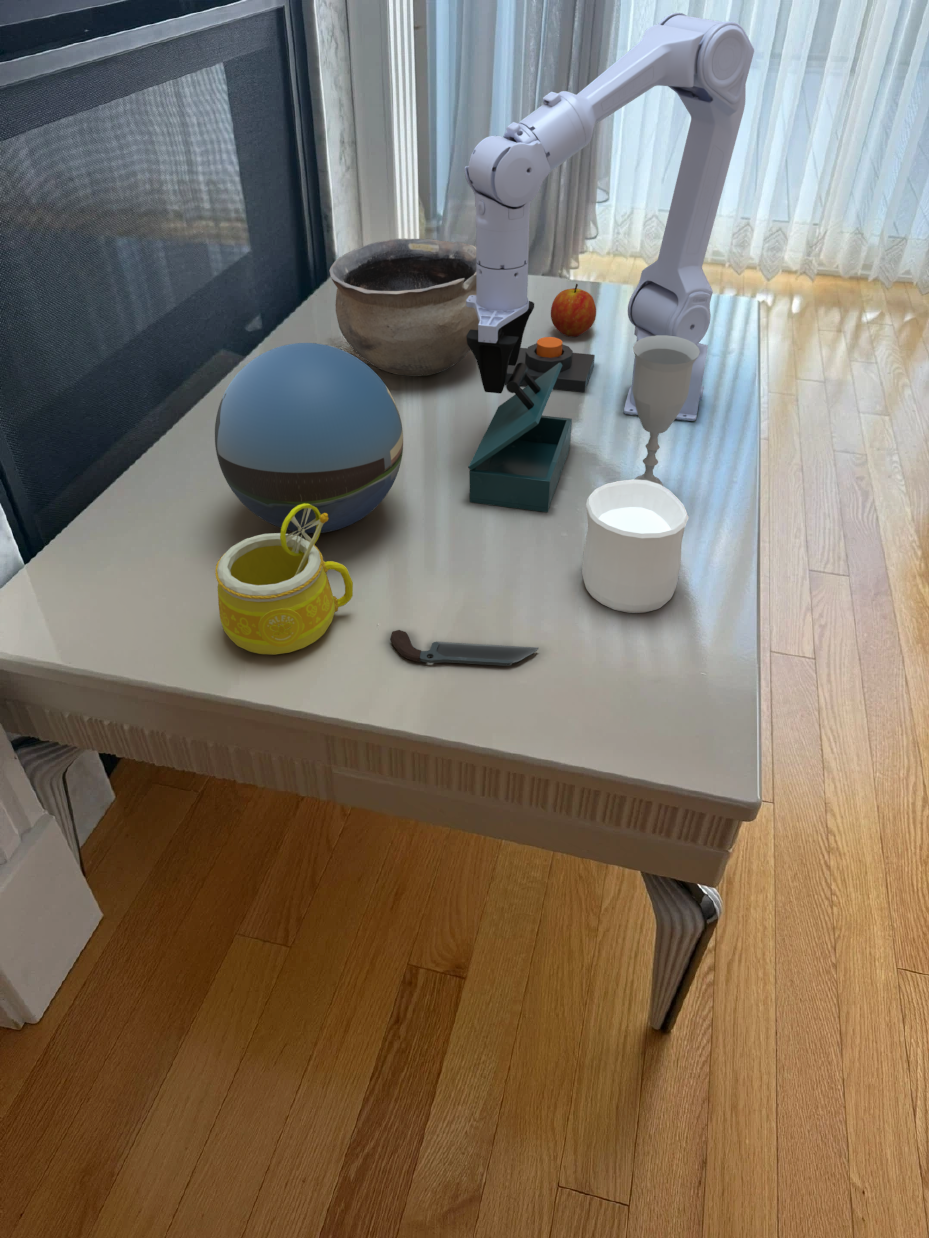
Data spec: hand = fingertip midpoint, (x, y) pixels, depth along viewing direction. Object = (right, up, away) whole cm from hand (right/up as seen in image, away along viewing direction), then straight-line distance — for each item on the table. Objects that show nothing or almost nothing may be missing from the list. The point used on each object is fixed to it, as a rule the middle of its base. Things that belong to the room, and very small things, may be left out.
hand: (500, 377), depth 107 cm
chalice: (+17, -15, -3) cm, 23 cm away
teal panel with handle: (+2, -5, -3) cm, 7 cm away
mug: (-21, -30, -20) cm, 41 cm away
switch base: (+8, +7, +23) cm, 25 cm away
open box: (+3, -11, +1) cm, 12 cm away
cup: (+12, -26, -15) cm, 32 cm away
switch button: (+8, +9, +21) cm, 24 cm away
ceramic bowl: (-12, +9, +26) cm, 30 cm away
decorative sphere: (-21, -18, -5) cm, 28 cm away
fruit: (+12, +16, +34) cm, 39 cm away
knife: (-4, -32, -23) cm, 40 cm away
